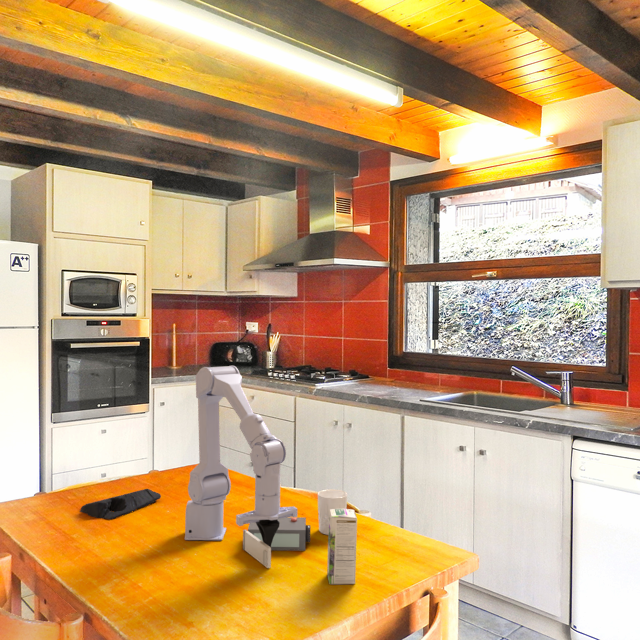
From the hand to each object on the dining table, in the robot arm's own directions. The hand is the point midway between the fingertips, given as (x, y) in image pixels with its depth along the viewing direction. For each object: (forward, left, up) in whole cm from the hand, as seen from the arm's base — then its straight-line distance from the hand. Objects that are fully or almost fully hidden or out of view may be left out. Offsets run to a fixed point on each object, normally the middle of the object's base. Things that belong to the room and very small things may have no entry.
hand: (266, 551), depth 138 cm
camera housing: (+2, +12, -3) cm, 12 cm away
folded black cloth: (-45, +39, -3) cm, 60 cm away
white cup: (+16, +21, -3) cm, 26 cm away
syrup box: (+17, -8, -3) cm, 19 cm away
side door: (-3, +2, -2) cm, 4 cm away
